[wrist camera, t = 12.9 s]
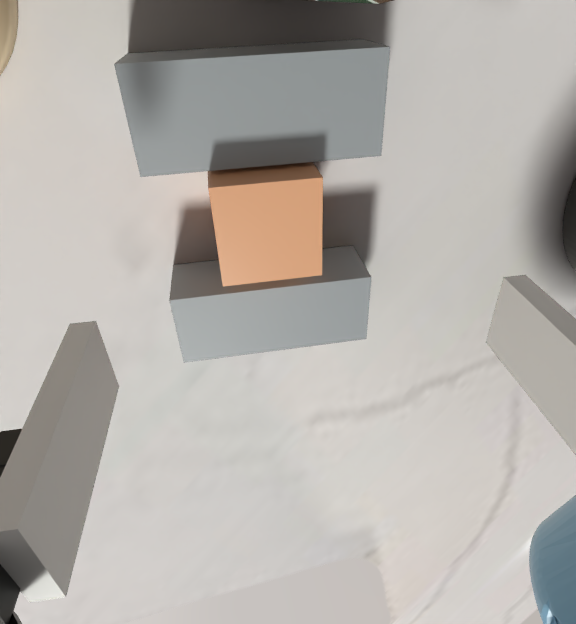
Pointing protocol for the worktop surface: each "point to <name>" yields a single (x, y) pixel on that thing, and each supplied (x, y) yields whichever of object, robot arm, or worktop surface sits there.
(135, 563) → the worktop surface
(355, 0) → the beer bottle
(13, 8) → the bobbin
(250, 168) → the block
